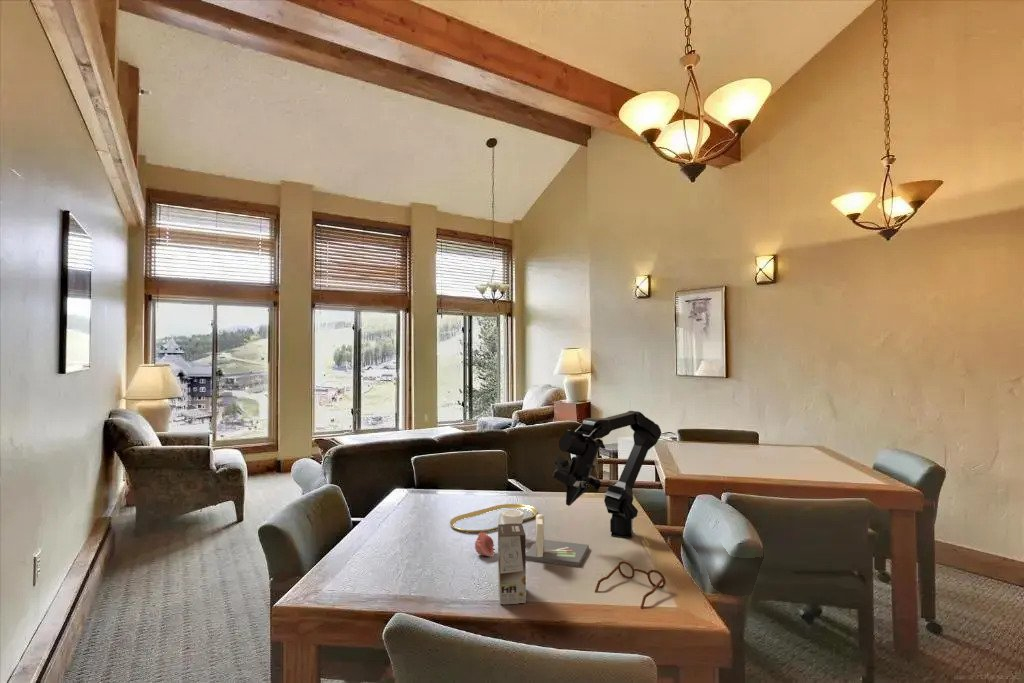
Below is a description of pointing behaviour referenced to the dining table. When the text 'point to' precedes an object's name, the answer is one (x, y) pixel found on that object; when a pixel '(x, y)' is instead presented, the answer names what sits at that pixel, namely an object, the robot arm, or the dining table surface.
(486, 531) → the yellow oval loop
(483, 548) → the flower
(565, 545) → the grey board
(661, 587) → the glasses
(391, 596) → the dining table surface
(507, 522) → the cup
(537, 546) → the tuning peg
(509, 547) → the coffee box
